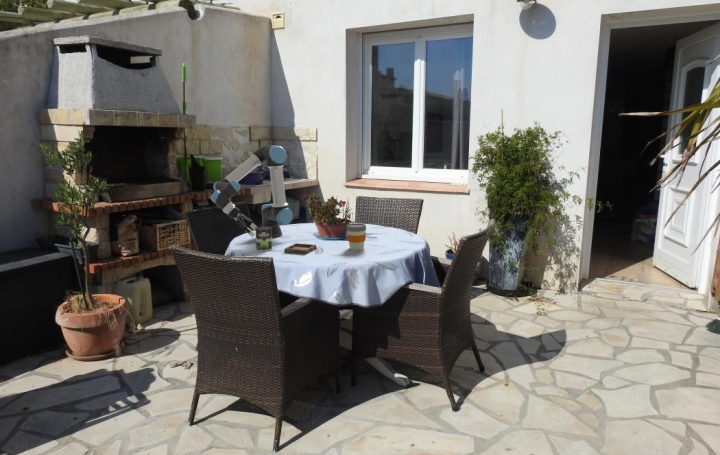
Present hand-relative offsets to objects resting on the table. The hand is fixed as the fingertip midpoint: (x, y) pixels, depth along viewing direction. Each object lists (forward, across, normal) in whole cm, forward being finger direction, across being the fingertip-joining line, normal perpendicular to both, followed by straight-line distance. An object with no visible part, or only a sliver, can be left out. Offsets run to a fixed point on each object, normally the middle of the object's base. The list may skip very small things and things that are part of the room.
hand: (256, 233), depth 336 cm
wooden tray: (+28, +3, +13) cm, 30 cm away
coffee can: (+11, -1, -4) cm, 12 cm away
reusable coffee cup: (+53, -1, +38) cm, 65 cm away
